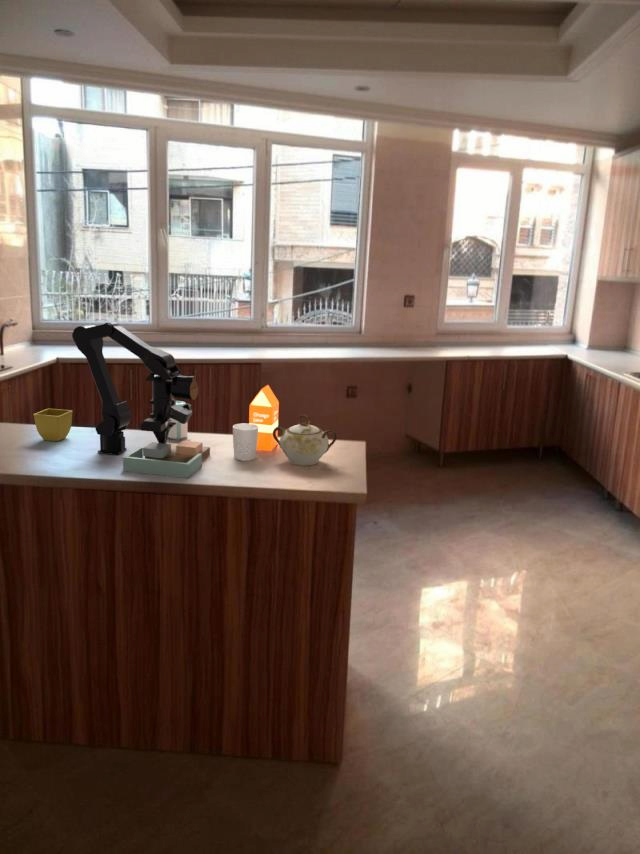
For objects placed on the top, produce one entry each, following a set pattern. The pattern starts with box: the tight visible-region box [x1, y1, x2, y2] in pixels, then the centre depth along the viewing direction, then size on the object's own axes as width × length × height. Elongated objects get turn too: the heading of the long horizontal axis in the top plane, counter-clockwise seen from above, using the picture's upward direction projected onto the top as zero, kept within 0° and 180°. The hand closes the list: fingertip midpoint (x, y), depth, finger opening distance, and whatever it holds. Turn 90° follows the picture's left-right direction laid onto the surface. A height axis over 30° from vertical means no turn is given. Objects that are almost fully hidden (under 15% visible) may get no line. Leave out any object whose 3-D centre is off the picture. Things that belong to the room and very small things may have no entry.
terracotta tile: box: [176, 440, 204, 456], centre depth 199 cm, size 6×6×2 cm
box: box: [122, 446, 203, 479], centre depth 190 cm, size 19×11×4 cm, turn 80°
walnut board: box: [144, 442, 211, 463], centre depth 201 cm, size 16×12×2 cm
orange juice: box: [248, 384, 280, 452], centre depth 215 cm, size 8×9×20 cm
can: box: [167, 400, 188, 440], centre depth 221 cm, size 7×7×12 cm
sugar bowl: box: [273, 414, 337, 467], centre depth 202 cm, size 20×15×15 cm
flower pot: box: [33, 408, 73, 442], centre depth 212 cm, size 9×9×9 cm
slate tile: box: [143, 441, 171, 458], centre depth 195 cm, size 6×6×2 cm
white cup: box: [232, 422, 259, 462], centre depth 204 cm, size 8×8×10 cm
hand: (163, 447), depth 199 cm, fingers closed
